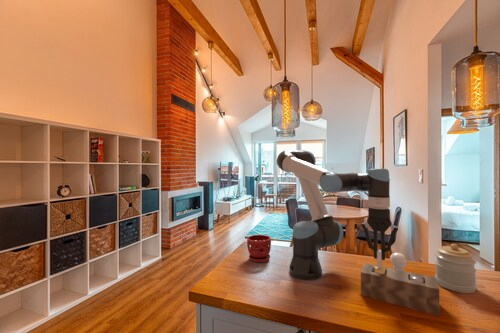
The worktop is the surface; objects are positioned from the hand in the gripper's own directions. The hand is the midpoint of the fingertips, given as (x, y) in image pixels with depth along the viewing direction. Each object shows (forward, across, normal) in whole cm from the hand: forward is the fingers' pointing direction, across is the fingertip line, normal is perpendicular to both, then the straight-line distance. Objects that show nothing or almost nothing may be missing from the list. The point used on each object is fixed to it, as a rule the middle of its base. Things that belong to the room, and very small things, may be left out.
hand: (379, 267), depth 92 cm
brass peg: (+8, 0, 0) cm, 8 cm away
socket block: (+11, +6, 0) cm, 12 cm away
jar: (+11, +26, +24) cm, 37 cm away
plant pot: (+10, -58, +4) cm, 59 cm away
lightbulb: (+11, +6, +20) cm, 24 cm away
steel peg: (+9, +12, 0) cm, 15 cm away
